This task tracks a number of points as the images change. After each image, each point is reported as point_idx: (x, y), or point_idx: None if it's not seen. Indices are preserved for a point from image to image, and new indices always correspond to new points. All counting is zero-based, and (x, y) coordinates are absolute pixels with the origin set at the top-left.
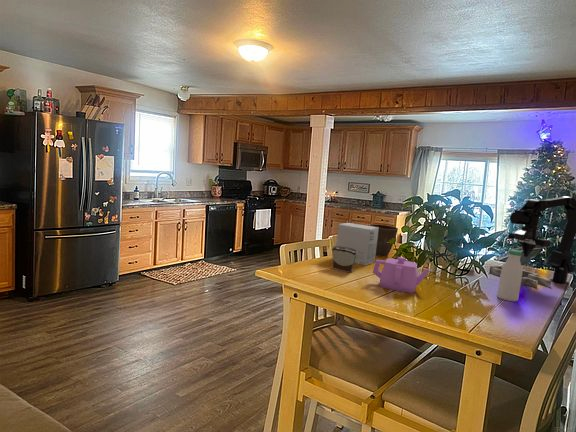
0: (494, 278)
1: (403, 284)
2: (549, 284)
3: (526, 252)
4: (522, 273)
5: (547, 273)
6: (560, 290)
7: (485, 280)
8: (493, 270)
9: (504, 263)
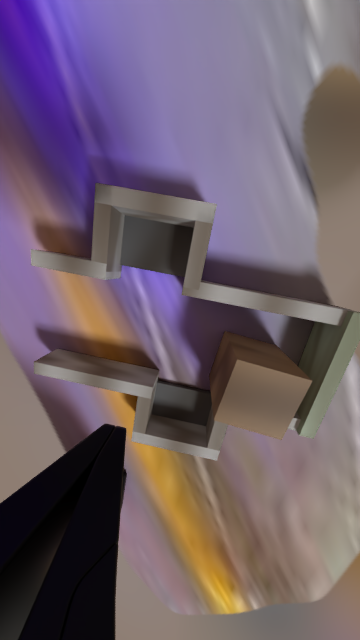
0: (249, 178)
1: None
2: (49, 355)
3: (57, 476)
4: (208, 430)
5: (192, 570)
6: (8, 340)
7: (251, 9)
8: (322, 304)
9: (303, 377)
